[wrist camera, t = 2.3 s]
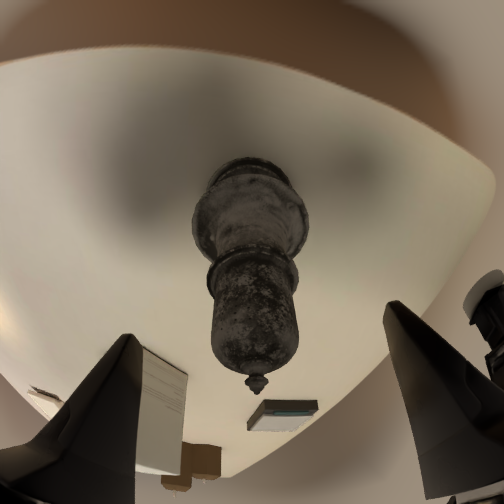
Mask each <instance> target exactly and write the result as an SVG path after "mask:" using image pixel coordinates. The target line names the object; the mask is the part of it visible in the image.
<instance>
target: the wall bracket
mask: <svg viewBox="0 0 504 504" xmlns="http://www.w3.org/2000/svg"><path fill="white" fill-rule="evenodd" d="M27 393H28V394H29V395H30V397H31V398H32V399H33V400H34V401H35V402H36V404H37V405H38V406H39V407H40V408H41V409H42V410H43V411H44V412H45V414H46V415H47V416H48V417H49V418H50V419H52V418H53V417H54V416H55V414H56V413H57V412H58V411H59V410H60V408H61V407H62V406H63V405H64V402H63V401H60V400H57V399H54V398H51V397H49V396H46V395H43V394H41V393H38V392H37V393H36V392H33V391H31V390H28V392H27Z"/></svg>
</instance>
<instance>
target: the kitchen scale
mask: <svg viewBox="0 0 504 504" xmlns="http://www.w3.org/2000/svg"><path fill="white" fill-rule="evenodd" d="M316 411H318V403H317V400H315V401H285V400H264V401H263V402H262V404H261V405H260V406H259V408H258V409H257V410H256V412H255V413H254V414H253V416H252V417H251V418H250V420H249V421H248V422H247V431H267V432H285V431H295V430H297V429H298V428H299V427H301V426H302V425H303V424H304V423H306V422H307V421H308V420H310V419H311V418H312V417H313V414H314V413H315V412H316Z"/></svg>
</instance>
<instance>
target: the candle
mask: <svg viewBox="0 0 504 504" xmlns="http://www.w3.org/2000/svg"><path fill="white" fill-rule="evenodd" d="M220 476H221V447H217V446H212V445H202V444H190V443H186V442H182V449H181V465H180V475H161V484H162V485H163V486H164V487H165V488H166V489H168V490H173V495H174V498H176V491H181V492H186V491H187V490H189V489H190V488H191V483H192V477H194V478H197V479H203V484H205V480H215V479H217V478H218V477H220Z"/></svg>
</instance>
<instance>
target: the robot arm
mask: <svg viewBox="0 0 504 504" xmlns="http://www.w3.org/2000/svg"><path fill="white" fill-rule="evenodd" d="M474 324H476V325H477V327H478V329H479V331H480V332H481V334H482V336H483V338H484V340H485V341H487V342H488V344H489V346H490V348H491V349H492V351H491V352H490V353H489V354H487V355H486V356H485V360H486V365H487V368H488V372H489V375H490V378H491V380H489V379H488V378H487V377H486V376H485V375H483V374H482V373H481V372H480V371H479V370H478V369H477V368H476V367H474V366H473V365H472V364H471V363H470V362H469V361H467V360H466V359H465V357H463V356H462V355H461V354H460V353H459V352H458V351H457V350H456V349H455V348H454V347H452V346H451V345H450V344H449V343H448V342H447V341H446V340H445V339H444V338H442V337H441V336H440V335H439V334H438V333H437V332H436V331H434V330H433V329H432V328H431V327H430V326H429V325H427V324H426V323H425V322H424V321H423V320H421V319H420V318H419V317H418V316H417V315H416V314H415V313H413V312H412V311H411V310H410V309H409V308H407V307H406V306H405V305H404V304H403V303H401V302H400V301H398V300H395V301H391V302H388V303H387V304H386V308H385V312H384V315H383V325H384V329H385V333H386V338H387V342H388V346H389V351H390V355H391V360H392V363H393V366H394V370H395V373H396V376H397V379H398V382H399V386H400V389H401V392H402V396H403V399H404V402H405V406H406V409H407V413H408V417H409V421H410V425H411V429H412V433H413V437H414V441H415V445H416V450H417V454H418V460H419V464H420V469H421V475H422V480H423V486H424V492H425V498H426V500H428V499H434V498H440V497H445V496H450V495H453V496H452V497H451V498H450V500H449V502H448V503H447V504H504V284H503V285H500V286H498V287H495V288H492V289H490V290H487V291H486V292H485V293H484V295H483V297H482V299H481V301H480V303H479V305H478V307H477V308H476V310H475V312H474V314H473V316H472V318H471V319H470V321H469V325H470V326H471V325H474ZM142 379H143V347H142V345H141V344H140V342H139V341H138V340H137V338H136V337H135V336H134V335H133V334H131V333H129V334H122V335H121V336H120V337H119V338H118V339H117V341H116V342H115V343H114V344H113V345H112V346H111V348H110V349H109V350H108V351H107V352H106V354H105V355H104V356H103V357H102V358H101V359H100V361H99V362H98V363H97V364H96V365H95V367H94V368H93V369H92V370H91V371H90V373H89V374H88V375H87V376H86V377H85V379H84V380H83V381H82V382H81V384H80V385H79V386H78V387H77V389H76V390H75V391H74V392H73V394H72V395H71V396H70V397H69V399H68V400H67V401H66V402H65V403H64V405H63V406H62V407H61V408H60V410H59V411H58V412H57V413H56V414H55V416H54V417H53V418H52V419H51V420H50V421H49V422H48V424H46V425H45V427H44V428H43V429H42V430H41V431H40V432H39V433H38V434H37V435H36V436H35V437H34V438H33V439H32V440H31V441H29V442H28V443H25V444H23V445H19V446H14V447H10V448H6V449H1V450H0V504H135V465H136V447H137V433H138V422H139V411H140V402H141V394H142Z"/></svg>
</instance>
